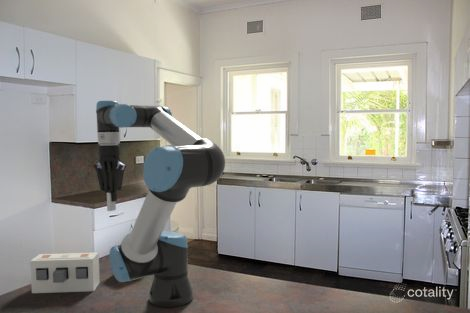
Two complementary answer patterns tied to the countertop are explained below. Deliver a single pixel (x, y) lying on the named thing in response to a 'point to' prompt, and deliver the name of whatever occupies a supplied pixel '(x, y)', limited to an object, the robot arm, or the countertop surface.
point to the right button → (81, 272)
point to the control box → (71, 264)
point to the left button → (42, 274)
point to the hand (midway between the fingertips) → (111, 210)
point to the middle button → (59, 275)
